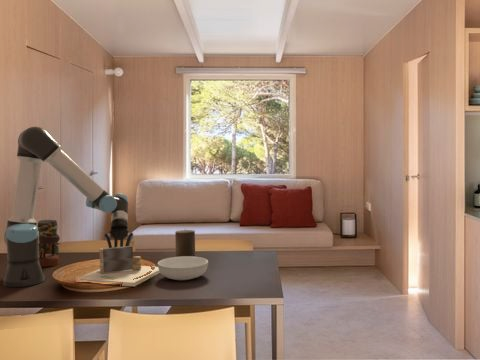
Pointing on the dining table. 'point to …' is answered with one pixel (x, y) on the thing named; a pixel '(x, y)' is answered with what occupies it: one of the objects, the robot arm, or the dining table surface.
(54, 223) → the camouflage backpack
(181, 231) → the pillar candle
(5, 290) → the dining table surface
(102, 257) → the peg head
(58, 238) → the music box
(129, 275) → the board
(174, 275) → the serving bowl
